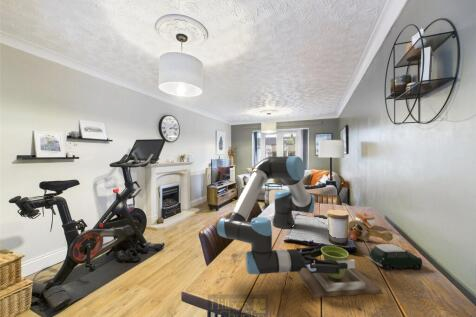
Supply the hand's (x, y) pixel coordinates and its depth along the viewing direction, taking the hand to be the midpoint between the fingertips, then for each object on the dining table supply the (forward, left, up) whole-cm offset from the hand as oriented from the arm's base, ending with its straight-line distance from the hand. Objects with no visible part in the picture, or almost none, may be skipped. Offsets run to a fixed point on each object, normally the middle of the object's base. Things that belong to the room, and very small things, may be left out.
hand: (346, 257), depth 74 cm
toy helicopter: (+13, +42, -9) cm, 44 cm away
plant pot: (-4, -2, -6) cm, 8 cm away
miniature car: (+20, +20, -9) cm, 29 cm away
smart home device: (-8, +72, -9) cm, 73 cm away
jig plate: (-4, -2, -8) cm, 10 cm away
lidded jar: (+16, +67, -9) cm, 69 cm away
